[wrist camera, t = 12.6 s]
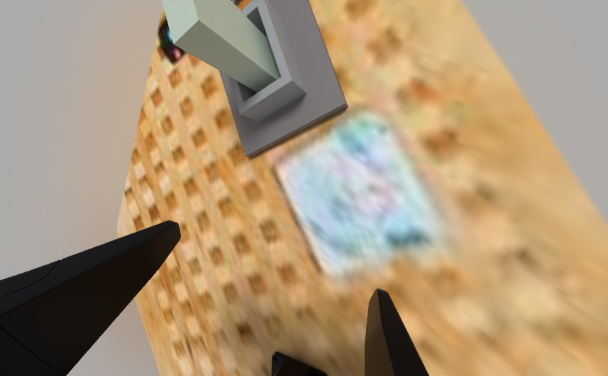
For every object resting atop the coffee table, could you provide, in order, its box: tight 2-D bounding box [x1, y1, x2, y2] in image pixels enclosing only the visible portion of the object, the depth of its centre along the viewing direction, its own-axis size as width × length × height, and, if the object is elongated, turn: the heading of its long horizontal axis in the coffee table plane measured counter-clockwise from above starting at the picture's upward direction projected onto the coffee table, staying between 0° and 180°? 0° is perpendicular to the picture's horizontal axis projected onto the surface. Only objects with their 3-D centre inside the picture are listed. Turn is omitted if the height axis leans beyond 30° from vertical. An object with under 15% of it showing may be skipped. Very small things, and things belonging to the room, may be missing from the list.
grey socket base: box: [219, 0, 348, 157], centre depth 21 cm, size 12×14×4 cm
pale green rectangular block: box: [162, 0, 281, 93], centre depth 18 cm, size 2×6×10 cm, turn 18°
